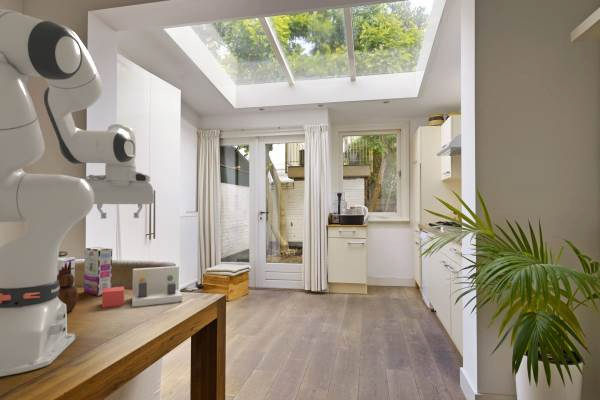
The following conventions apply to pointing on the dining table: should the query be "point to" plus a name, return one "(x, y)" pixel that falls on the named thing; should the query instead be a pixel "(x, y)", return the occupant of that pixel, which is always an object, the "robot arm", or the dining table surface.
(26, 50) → the robot arm
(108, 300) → the cap
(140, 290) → the block
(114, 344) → the dining table surface
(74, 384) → the dining table surface
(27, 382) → the dining table surface
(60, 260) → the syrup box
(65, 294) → the wooden figurine
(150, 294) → the breaker panel
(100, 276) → the candy bar box
